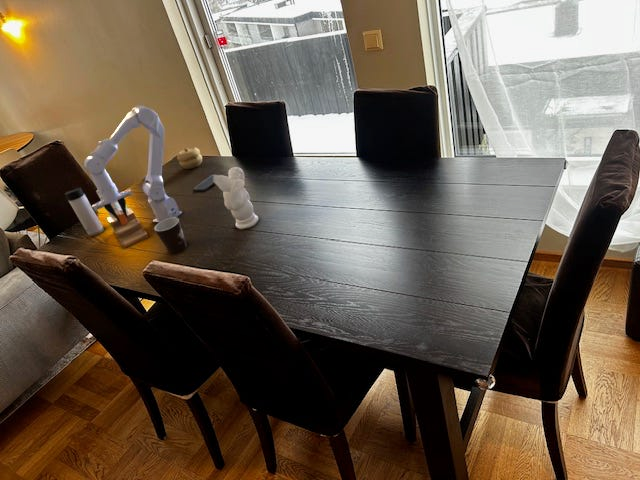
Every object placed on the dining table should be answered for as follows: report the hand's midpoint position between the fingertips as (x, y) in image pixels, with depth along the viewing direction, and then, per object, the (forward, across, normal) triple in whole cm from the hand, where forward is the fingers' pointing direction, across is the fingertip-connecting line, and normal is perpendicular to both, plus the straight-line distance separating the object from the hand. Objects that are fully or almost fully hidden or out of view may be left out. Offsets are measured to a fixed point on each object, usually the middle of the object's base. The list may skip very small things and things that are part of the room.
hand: (122, 218), depth 173 cm
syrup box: (+7, +1, +23) cm, 25 cm away
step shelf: (+7, 0, 0) cm, 7 cm away
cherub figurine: (+7, +35, -38) cm, 52 cm away
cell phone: (+7, +40, +16) cm, 43 cm away
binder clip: (+1, 0, 0) cm, 1 cm away
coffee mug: (+7, +12, -29) cm, 32 cm away
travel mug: (+7, -11, +17) cm, 22 cm away
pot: (+7, +43, +46) cm, 64 cm away
